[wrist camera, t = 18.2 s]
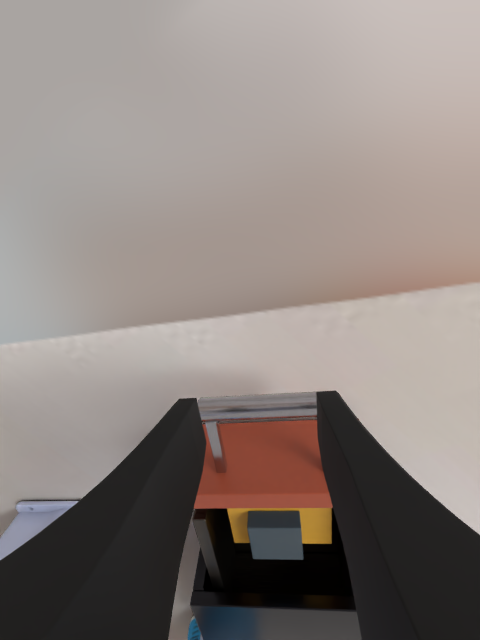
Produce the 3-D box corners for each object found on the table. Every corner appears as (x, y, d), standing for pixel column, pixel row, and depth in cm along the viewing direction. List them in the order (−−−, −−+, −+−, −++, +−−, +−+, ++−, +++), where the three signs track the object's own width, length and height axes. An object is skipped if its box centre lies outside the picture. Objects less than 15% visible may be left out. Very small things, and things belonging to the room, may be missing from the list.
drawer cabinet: (208, 500, 26) (189, 605, 20) (358, 499, 25) (391, 612, 18) (232, 593, 32) (223, 695, 26) (353, 597, 31) (376, 707, 24)
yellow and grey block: (237, 504, 23) (232, 561, 19) (230, 469, 21) (223, 525, 18) (324, 504, 22) (335, 563, 19) (324, 468, 21) (335, 525, 17)
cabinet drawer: (176, 363, 19) (146, 424, 14) (361, 351, 18) (396, 414, 13) (221, 542, 27) (211, 621, 22) (352, 544, 26) (372, 627, 21)
